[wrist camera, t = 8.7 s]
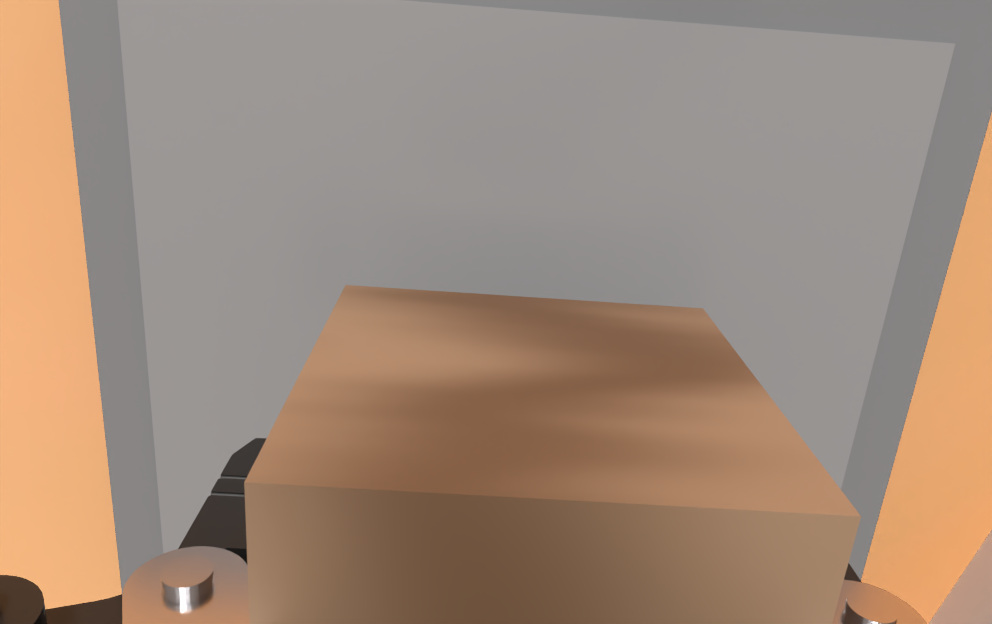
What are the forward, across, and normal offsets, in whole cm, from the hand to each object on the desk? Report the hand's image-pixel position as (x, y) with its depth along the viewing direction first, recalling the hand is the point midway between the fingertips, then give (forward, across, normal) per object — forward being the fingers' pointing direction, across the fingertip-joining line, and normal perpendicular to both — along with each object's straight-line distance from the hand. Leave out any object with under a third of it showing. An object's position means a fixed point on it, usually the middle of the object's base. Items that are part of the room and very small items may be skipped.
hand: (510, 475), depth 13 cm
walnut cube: (+1, 0, 0) cm, 1 cm away
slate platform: (+5, 0, 0) cm, 5 cm away
